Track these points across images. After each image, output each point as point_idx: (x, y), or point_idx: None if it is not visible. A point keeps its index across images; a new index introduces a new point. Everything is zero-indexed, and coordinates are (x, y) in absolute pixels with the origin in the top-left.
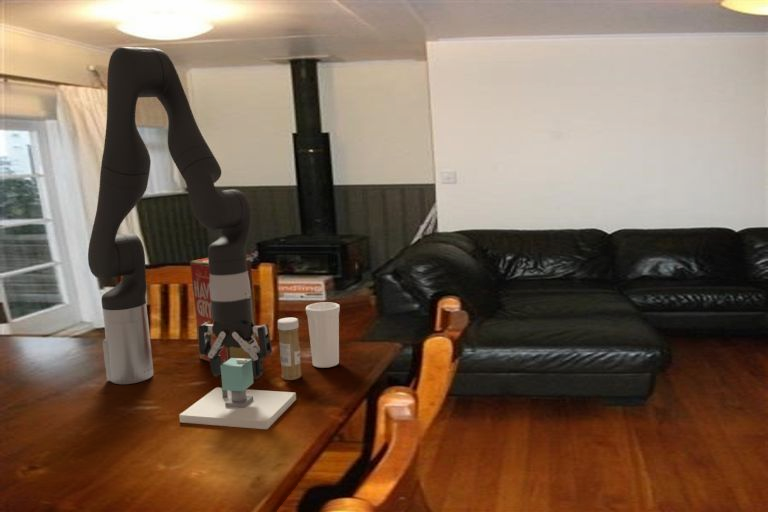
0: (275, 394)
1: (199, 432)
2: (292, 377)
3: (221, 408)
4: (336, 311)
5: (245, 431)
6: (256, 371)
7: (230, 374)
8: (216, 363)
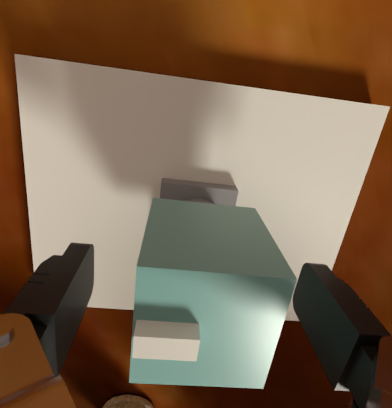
0: (98, 286)
1: (278, 19)
2: (115, 402)
3: (245, 170)
4: None
5: (106, 36)
6: (58, 267)
7: (219, 241)
8: (334, 317)
